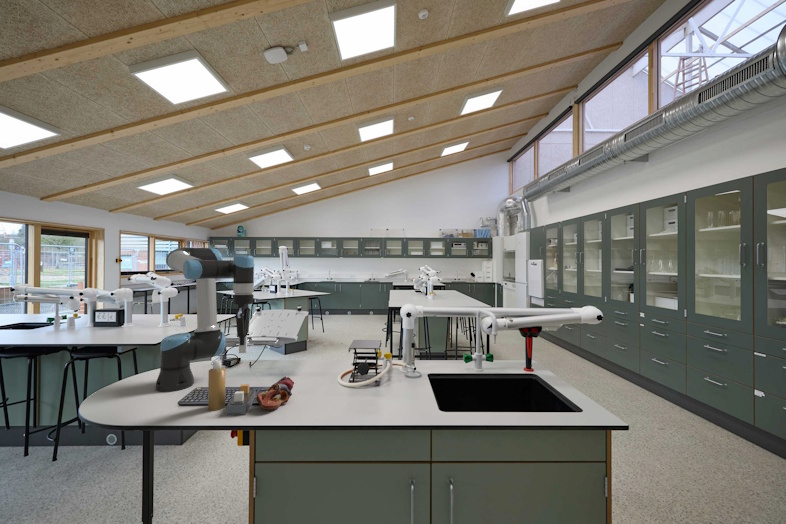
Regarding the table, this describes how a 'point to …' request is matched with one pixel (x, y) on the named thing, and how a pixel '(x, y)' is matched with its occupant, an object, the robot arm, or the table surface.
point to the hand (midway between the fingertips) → (242, 352)
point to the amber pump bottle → (216, 387)
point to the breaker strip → (241, 404)
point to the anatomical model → (276, 394)
